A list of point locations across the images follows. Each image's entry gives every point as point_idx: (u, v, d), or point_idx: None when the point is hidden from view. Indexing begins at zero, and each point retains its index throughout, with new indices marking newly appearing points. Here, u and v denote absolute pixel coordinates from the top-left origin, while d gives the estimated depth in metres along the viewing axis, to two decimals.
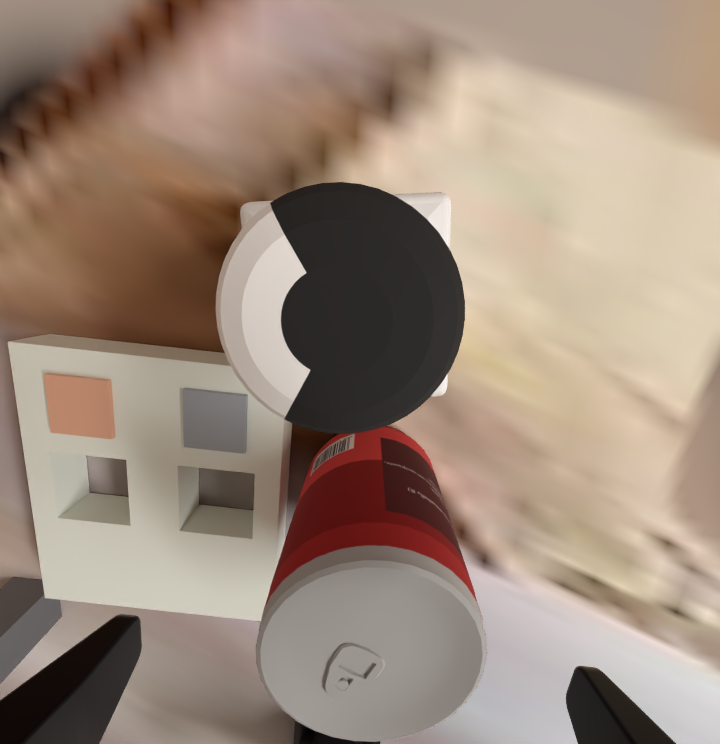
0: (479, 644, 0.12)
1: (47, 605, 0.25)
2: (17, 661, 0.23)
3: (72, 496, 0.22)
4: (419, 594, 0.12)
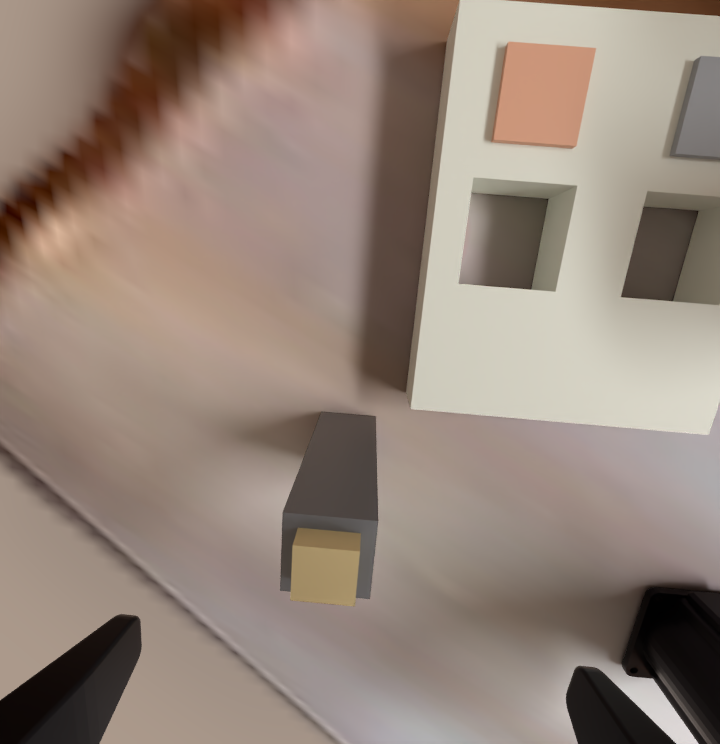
0: None
1: None
2: None
3: None
4: None
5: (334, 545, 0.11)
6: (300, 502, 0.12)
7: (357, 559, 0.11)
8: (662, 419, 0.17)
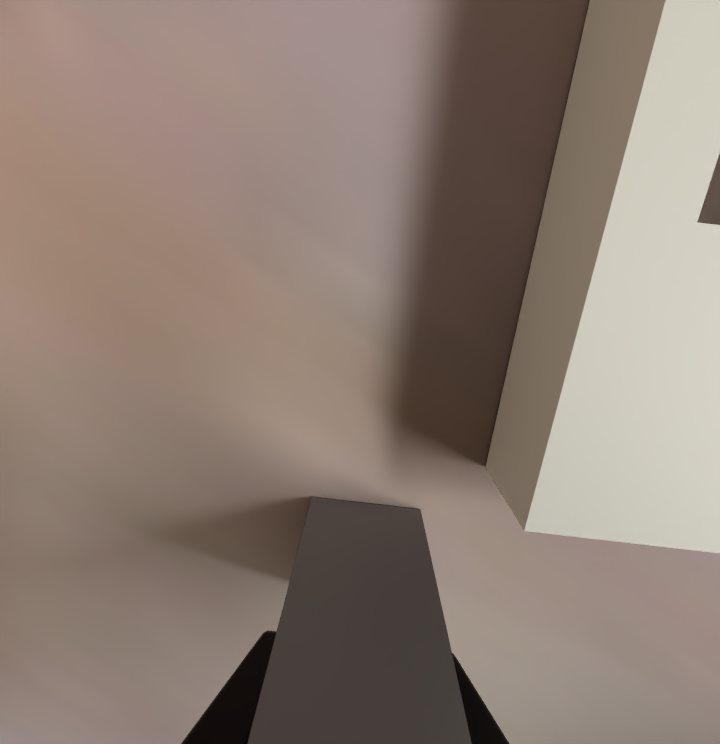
0: None
1: None
2: None
3: None
4: None
5: None
6: None
7: None
8: None
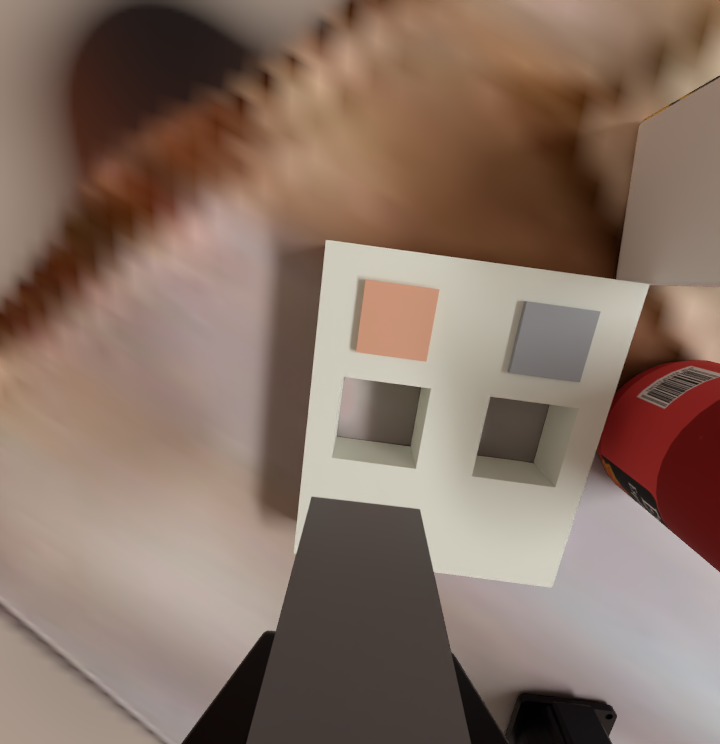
0: None
1: None
2: None
3: (335, 436, 0.19)
4: None
5: None
6: None
7: None
8: (512, 573, 0.19)
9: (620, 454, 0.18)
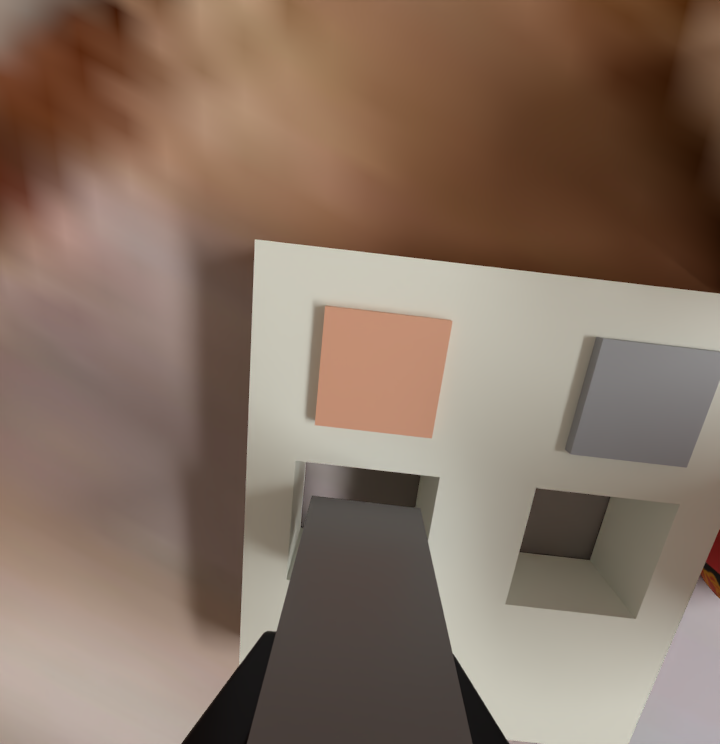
0: None
1: None
2: None
3: (295, 537, 0.13)
4: None
5: None
6: None
7: None
8: (565, 734, 0.13)
9: None
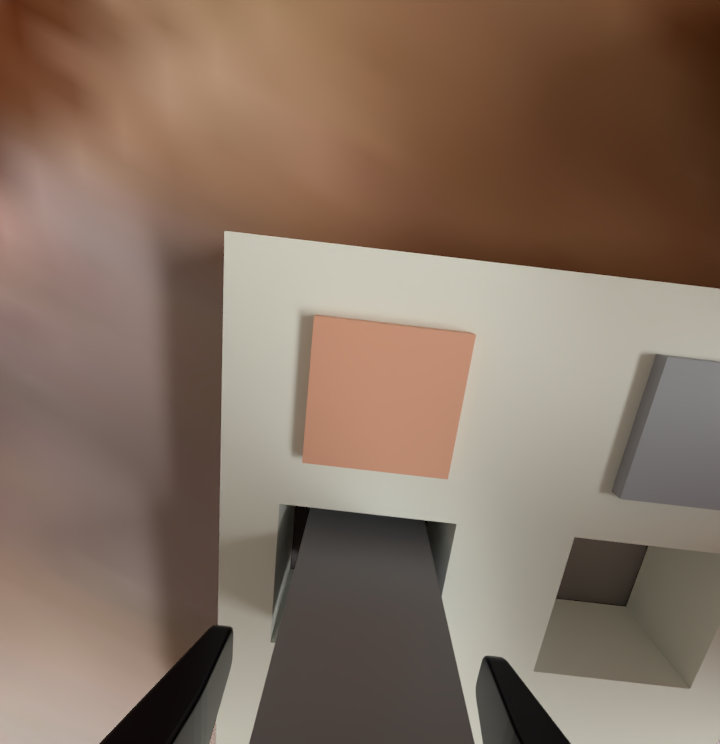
0: None
1: None
2: None
3: (282, 586, 0.11)
4: None
5: None
6: None
7: None
8: None
9: None
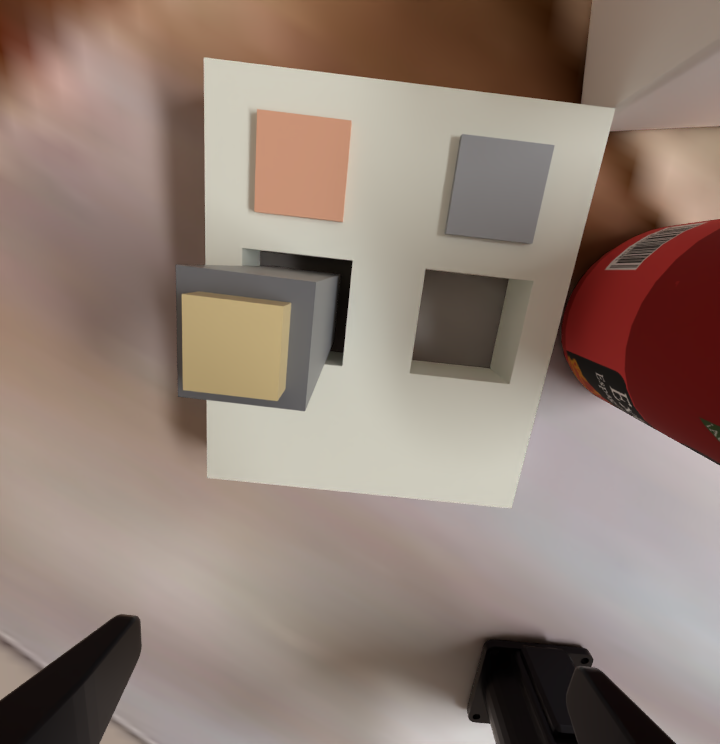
0: None
1: (337, 299, 0.16)
2: (328, 350, 0.14)
3: None
4: None
5: (247, 301, 0.07)
6: (208, 267, 0.08)
7: (279, 319, 0.07)
8: (464, 493, 0.17)
9: (585, 340, 0.15)
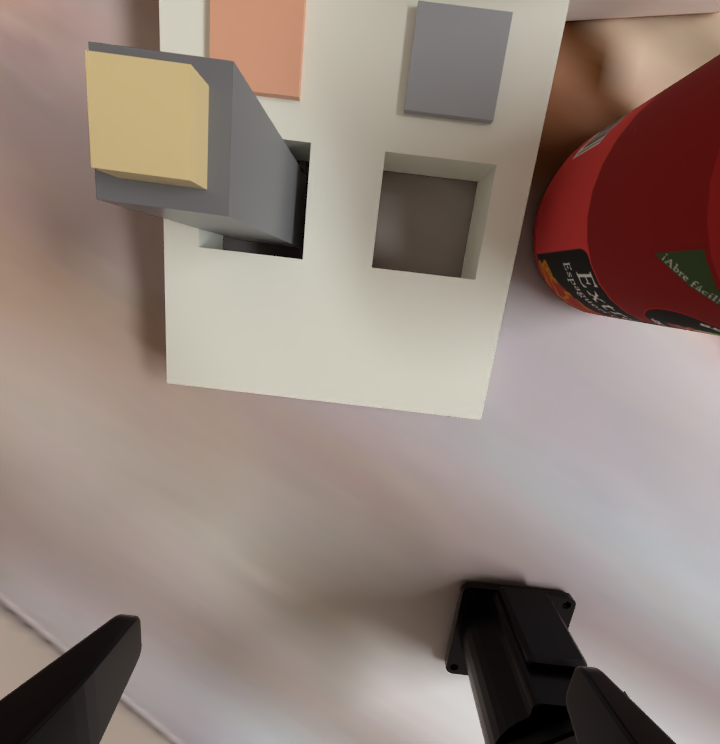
0: None
1: (300, 197, 0.16)
2: (285, 234, 0.14)
3: (211, 234, 0.16)
4: None
5: (155, 65, 0.07)
6: None
7: (187, 78, 0.07)
8: (431, 401, 0.16)
9: (553, 231, 0.14)
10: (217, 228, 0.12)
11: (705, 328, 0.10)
